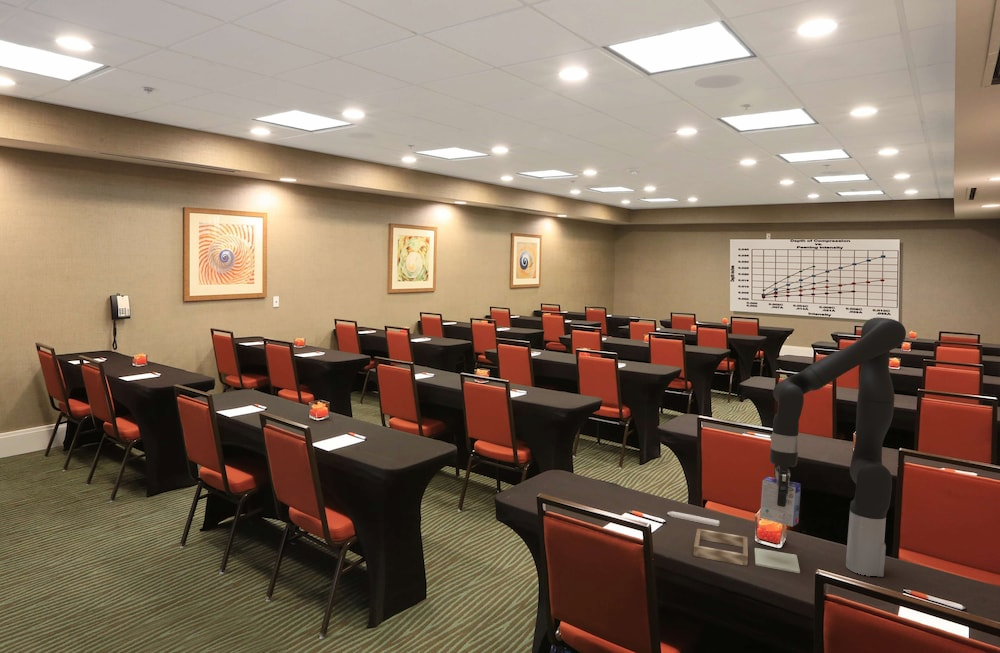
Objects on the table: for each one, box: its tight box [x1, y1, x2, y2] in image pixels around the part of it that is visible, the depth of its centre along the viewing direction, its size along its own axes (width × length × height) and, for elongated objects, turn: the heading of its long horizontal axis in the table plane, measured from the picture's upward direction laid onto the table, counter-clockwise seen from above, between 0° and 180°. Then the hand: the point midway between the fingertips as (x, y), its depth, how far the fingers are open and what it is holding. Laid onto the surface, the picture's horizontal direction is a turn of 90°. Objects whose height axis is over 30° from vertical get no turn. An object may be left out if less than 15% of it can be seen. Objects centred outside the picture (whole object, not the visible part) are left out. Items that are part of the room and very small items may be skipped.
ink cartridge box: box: [759, 476, 802, 527], centre depth 184 cm, size 10×6×14 cm, turn 48°
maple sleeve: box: [692, 528, 749, 567], centre depth 191 cm, size 15×15×3 cm
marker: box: [667, 511, 721, 527], centre depth 216 cm, size 18×2×2 cm, turn 62°
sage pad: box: [754, 547, 801, 574], centre depth 185 cm, size 12×12×1 cm
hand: (780, 502), depth 184 cm, fingers closed on ink cartridge box, 6 cm apart
